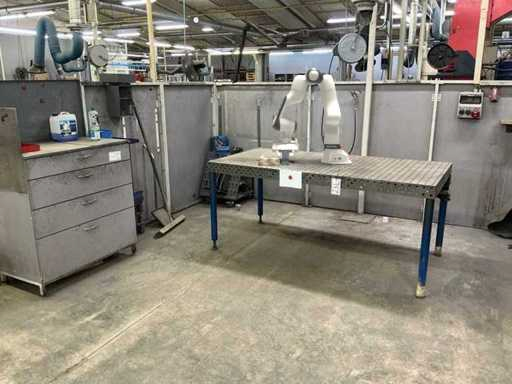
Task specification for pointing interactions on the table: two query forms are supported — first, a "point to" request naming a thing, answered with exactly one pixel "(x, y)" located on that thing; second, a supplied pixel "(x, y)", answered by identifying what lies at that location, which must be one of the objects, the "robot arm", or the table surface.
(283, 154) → the bracket
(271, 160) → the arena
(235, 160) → the table surface
